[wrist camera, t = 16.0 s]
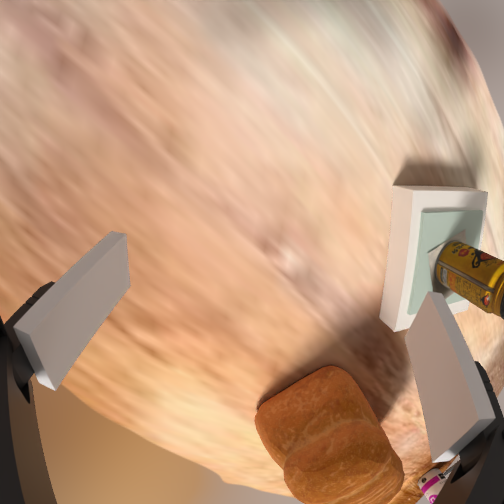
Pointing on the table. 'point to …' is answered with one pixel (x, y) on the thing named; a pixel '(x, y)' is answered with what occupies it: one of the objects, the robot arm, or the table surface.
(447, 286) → the condiment
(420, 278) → the riser
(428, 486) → the supplement can
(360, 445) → the bread
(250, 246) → the table surface
